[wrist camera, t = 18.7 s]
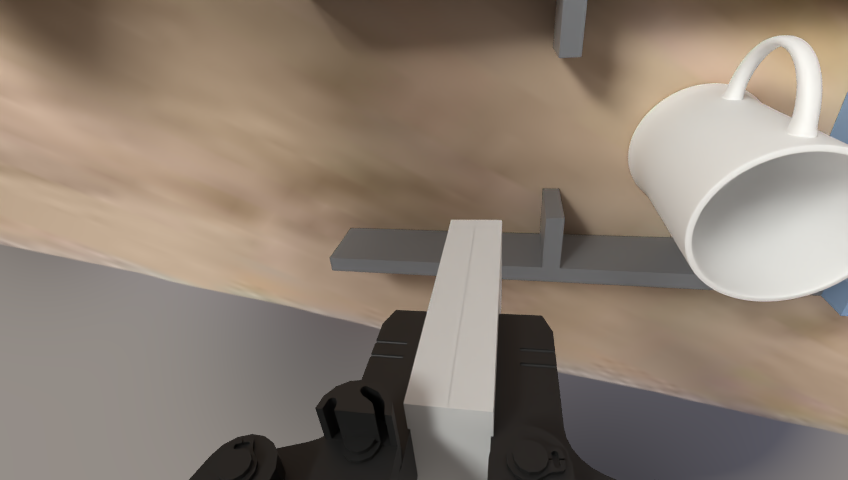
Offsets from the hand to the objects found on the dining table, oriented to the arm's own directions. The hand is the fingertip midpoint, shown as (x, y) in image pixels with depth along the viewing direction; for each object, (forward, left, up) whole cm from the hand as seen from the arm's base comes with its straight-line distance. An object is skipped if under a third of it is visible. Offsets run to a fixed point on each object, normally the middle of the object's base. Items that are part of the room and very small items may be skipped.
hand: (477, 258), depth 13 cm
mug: (+2, +13, -21) cm, 25 cm away
